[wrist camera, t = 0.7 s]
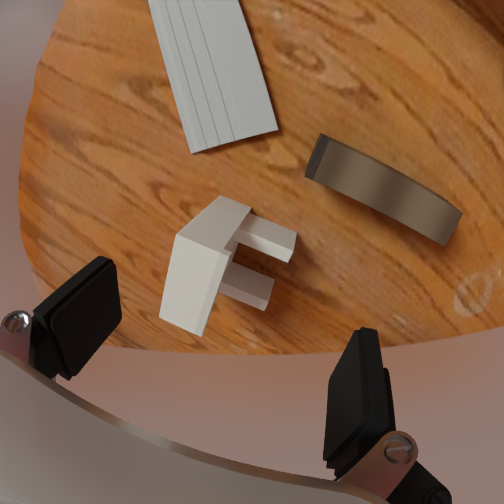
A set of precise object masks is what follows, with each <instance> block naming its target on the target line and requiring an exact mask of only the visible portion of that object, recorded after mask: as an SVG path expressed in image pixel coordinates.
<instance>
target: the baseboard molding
mask: <svg viewBox="0 0 504 504" xmlns="http://www.w3.org/2000/svg"><path fill="white" fill-rule="evenodd" d="M148 3H149V6H150V10H151V14H152V18H153V22H154V26H155V30H156V33H157V37H158V41H159V44H160V48H161V52H162V55H163V59H164V63H165V66H166V70H167V73H168V77H169V80H170V84H171V87H172V91H173V94H174V98H175V101H176V105H177V108H178V112H179V115H180V118H181V122H182V125H183V128H184V132H185V135H186V138H187V142H188V145H189V148H190V152H191V154H192V153H195V152H198V151H202V150H205V149H208V148H211V147H215V146H218V145H222V144H225V143H229V142H232V141H236V140H239V139H243V138H247V137H251V136H255V135H259V134H263V133H267V132H271V131H275V130H279V129H278V125H277V122H276V118H275V114H274V111H273V107H272V104H271V100H270V97H269V93H268V90H267V87H266V83H265V80H264V77H263V73H262V70H261V67H260V64H259V60H258V57H257V54H256V51H255V48H254V45H253V42H252V39H251V36H250V33H249V30H248V27H247V24H246V21H245V18H244V15H243V12H242V9H241V6H240V4H239V1H238V0H148Z"/></svg>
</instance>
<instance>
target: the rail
mask: <svg viewBox="0 0 504 504" xmlns="http://www.w3.org/2000/svg"><path fill="white" fill-rule="evenodd" d="M305 177H306V178H309V179H311V180H313V181H316V182H318V183H320V184H322V185H325V186H327V187H329V188H331V189H334V190H336V191H338V192H340V193H342V194H344V195H347V196H349V197H351V198H353V199H355V200H357V201H359V202H361V203H363V204H365V205H367V206H369V207H371V208H373V209H375V210H377V211H379V212H381V213H383V214H385V215H387V216H389V217H391V218H393V219H395V220H397V221H399V222H401V223H403V224H404V225H406V226H408V227H410V228H412V229H414V230H416V231H417V232H419V233H421V234H423V235H425V236H426V237H428V238H430V239H432V240H433V241H435V242H437V243H439V244H440V245H442V246H444V247H445V245H446V243H447V241H448V240H449V238H450V236H451V235H452V233H453V231H454V229H455V227H456V226H457V224H458V222H459V220H460V218H461V216H462V215H463V213H462V212H461V211H459V210H458V209H457V208H456V207H454V206H453V205H452V204H451V203H449V202H448V201H447V200H445V199H444V198H443V197H441V196H440V195H438V194H437V193H435V192H433V191H432V190H430V189H429V188H427V187H425V186H424V185H422V184H420V183H418V182H417V181H415V180H413V179H412V178H410V177H408V176H406V175H405V174H403V173H401V172H399V171H397V170H395V169H394V168H392V167H390V166H388V165H386V164H384V163H382V162H380V161H379V160H377V159H375V158H373V157H371V156H369V155H367V154H365V153H363V152H361V151H359V150H356V149H354V148H352V147H350V146H348V145H346V144H344V143H342V142H339V141H337V140H335V139H333V138H331V137H328V136H326V135H324V134H321V133H320V135H319V138H318V140H317V143H316V145H315V147H314V150H313V152H312V155H311V157H310V159H309V162H308V164H307V167H306V172H305Z"/></svg>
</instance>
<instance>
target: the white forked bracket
mask: <svg viewBox="0 0 504 504" xmlns="http://www.w3.org/2000/svg"><path fill="white" fill-rule="evenodd" d="M250 211H251V207H249V206H246V205H244V204H241V203H239V202H236V201H234V200H231V199H229V198H226V197H224V196H221V195H220V196H219V197H218V198H216V199H215V200H214V201H213V202H212V203H211V204H209V205H208V206H207V207H206V208H205V209H204V210H203V211H201V212H200V213H199V214H198V215H197V216H196V217H195V218H194V219H192V220H191V221H190V222H189V223H188V224H187V225H186V226H185V227H183V228H182V229H181V230H180V231H179V232H178V233H177V234H176V237H175V242H174V246H173V250H172V255H171V259H170V264H169V269H168V273H167V278H166V283H165V288H164V293H163V298H162V304H161V309H160V314H159V317H160V318H162V319H164V320H166V321H168V322H170V323H172V324H174V325H176V326H178V327H181V328H183V329H185V330H187V331H189V332H191V333H194V334H196V335H198V336H200V337H202V335H203V333H204V330H205V327H206V325H207V322H208V319H209V316H210V313H211V310H212V307H213V304H214V302H215V299H216V296H217V293H218V292H220V293H222V294H224V295H227V296H229V297H231V298H234V299H236V300H238V301H241V302H243V303H246V304H248V305H250V306H253V307H255V308H258V309H260V310H263V311H264V310H265V308H266V306H267V304H268V302H269V299H270V296H271V292H272V289H273V285H274V281H275V279H273V278H270V277H268V276H266V275H263V274H261V273H258V272H256V271H254V270H251V269H249V268H247V267H244V266H242V265H239V264H237V263H235V262H232V260H233V257H234V254H235V251H236V249H237V246H238V243H242V244H244V245H246V246H249V247H251V248H254V249H256V250H258V251H261V252H263V253H266V254H268V255H270V256H273V257H275V258H277V259H280V260H282V261H285V262H287V263H288V261H289V259H290V257H291V255H292V253H293V251H294V246H295V240H296V235H297V232H294V231H292V230H290V229H287V228H285V227H283V226H280V225H278V224H275V223H273V222H271V221H268V220H266V219H263V218H261V217H259V216H256V215H254V214H251V213H250Z"/></svg>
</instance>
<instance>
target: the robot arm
mask: <svg viewBox="0 0 504 504" xmlns="http://www.w3.org/2000/svg"><path fill="white" fill-rule="evenodd" d="M33 312H34V316H33V317H31V315H30V314H29V313H28V312H26V311H23V310H17V311H13V312H11V313H9V314H8V315H7V316H5V318H4V319H3V320H2V323H1V326H0V504H452V498H451V494H450V492H449V491H448V489H447V488H446V487H445V486H444V485H443V484H441V483H440V482H439V481H438V480H437V479H436V478H435V477H434V476H432V474H430V473H429V472H428V471H427V470H426V469H425V468H424V467H423V466H422V465H421V464H420V463H418V462H417V461H416V459H417V457H418V447H417V444H416V442H415V441H414V439H413V438H412V437H411V436H410V435H408V434H407V433H405V432H402V431H396V427H395V416H394V407H393V398H392V390H391V383H390V376H389V371H388V369H387V368H383V363H382V357H381V350H380V344H379V338H378V332H377V330H374V329H370V328H365V327H361V328H360V330H355V331H354V333H353V335H352V337H351V339H350V341H349V343H348V345H347V347H346V349H345V350H344V352H343V355H342V356H341V358H340V360H339V362H338V364H337V365H336V367H335V369H334V371H333V373H332V375H331V377H330V379H329V385H328V400H327V415H326V428H325V439H324V450H323V460H324V461H327V465H326V468H329V469H335V472H334V475H335V476H336V478H335V479H333V480H332V481H331V480H326V479H320V478H314V477H309V476H302V475H296V474H291V473H285V472H280V471H275V470H271V469H266V468H262V467H257V466H253V465H249V464H245V463H240V462H237V461H233V460H229V459H226V458H222V457H219V456H215V455H212V454H209V453H205V452H202V451H199V450H196V449H193V448H191V447H188V446H185V445H182V444H179V443H177V442H174V441H171V440H169V439H166V438H164V437H161V436H159V435H156V434H153V433H151V432H149V431H146V430H144V429H142V428H140V427H137V426H135V425H133V424H131V423H129V422H126V421H124V420H122V419H120V418H118V417H116V416H114V415H112V414H110V413H108V412H106V411H104V410H102V409H100V408H99V407H97V406H95V405H93V404H91V403H89V402H88V401H86V400H84V399H82V398H81V397H79V396H77V395H75V394H74V393H72V392H70V391H68V390H67V389H65V388H64V387H62V386H61V385H59V384H57V383H56V375H57V374H58V373H59V375H60V376H62V377H63V378H65V379H67V380H68V381H69V380H70V379H71V378H72V376H76V375H77V374H78V373H79V372H80V371H81V369H82V368H83V367H84V365H85V364H86V363H87V362H88V361H89V359H90V358H91V357H92V356H93V354H94V353H95V352H96V351H97V349H98V348H99V347H100V346H101V345H102V343H103V342H104V341H105V340H106V339H107V337H108V336H109V335H110V334H111V333H112V331H113V330H114V329H115V328H116V327H117V325H118V324H119V323H120V321H121V319H122V312H121V305H120V297H119V289H118V280H117V271H116V265H115V264H114V263H113V260H111V259H109V258H106V257H103V256H98V257H96V258H95V259H94V260H93V261H91V262H90V263H89V264H88V265H86V266H85V267H84V268H82V269H81V270H80V271H79V272H77V273H76V274H75V275H74V276H73V277H71V278H70V279H69V280H68V281H66V282H65V283H64V284H63V285H62V286H60V287H59V288H58V289H57V290H56V291H55V292H53V293H52V294H51V295H50V296H49V297H48V298H46V299H45V300H44V301H43V302H42V303H41V304H40V305H39V306H37V307H36V308H35V309H34V310H33Z"/></svg>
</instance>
